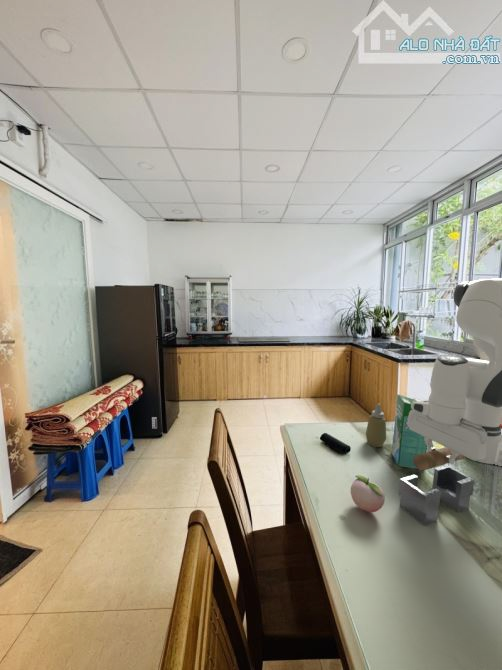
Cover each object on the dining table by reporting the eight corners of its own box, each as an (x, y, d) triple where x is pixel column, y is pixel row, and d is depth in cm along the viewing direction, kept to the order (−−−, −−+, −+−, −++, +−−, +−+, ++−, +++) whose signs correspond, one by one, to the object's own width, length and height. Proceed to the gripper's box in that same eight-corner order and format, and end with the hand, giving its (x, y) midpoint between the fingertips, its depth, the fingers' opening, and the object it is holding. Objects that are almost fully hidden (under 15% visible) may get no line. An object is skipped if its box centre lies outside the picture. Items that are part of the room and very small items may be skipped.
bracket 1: (411, 501, 84) (414, 474, 83) (437, 520, 77) (440, 491, 75) (397, 506, 82) (400, 478, 81) (422, 526, 74) (425, 496, 73)
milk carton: (424, 469, 100) (432, 404, 97) (397, 465, 102) (404, 401, 99) (416, 456, 109) (422, 396, 106) (391, 453, 111) (397, 393, 108)
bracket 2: (457, 512, 80) (461, 484, 79) (431, 494, 87) (434, 468, 86) (470, 507, 82) (474, 479, 81) (443, 490, 89) (447, 464, 88)
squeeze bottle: (386, 442, 119) (390, 403, 117) (384, 451, 112) (388, 409, 110) (366, 437, 123) (370, 399, 121) (363, 445, 116) (366, 404, 114)
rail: (460, 461, 83) (449, 450, 86) (468, 454, 80) (456, 442, 83) (421, 473, 76) (410, 460, 79) (429, 465, 74) (417, 452, 77)
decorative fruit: (342, 506, 81) (345, 475, 80) (358, 495, 86) (360, 466, 85) (373, 528, 73) (376, 494, 72) (387, 514, 78) (391, 482, 77)
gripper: (495, 426, 70) (488, 476, 72) (420, 399, 89) (415, 439, 90) (480, 430, 67) (473, 482, 69) (406, 401, 86) (402, 442, 88)
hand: (440, 457), depth 80 cm, fingers closed on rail, 4 cm apart
